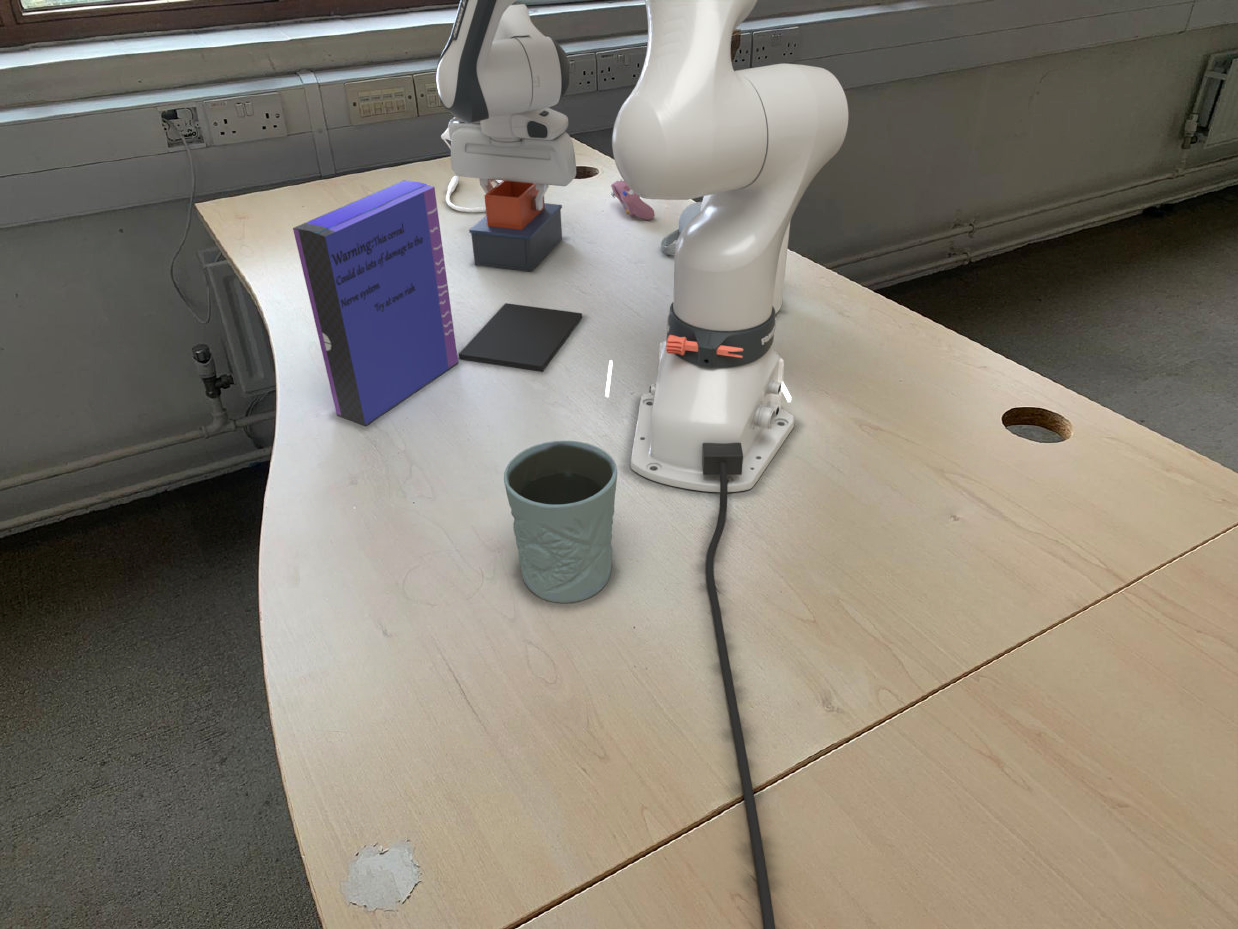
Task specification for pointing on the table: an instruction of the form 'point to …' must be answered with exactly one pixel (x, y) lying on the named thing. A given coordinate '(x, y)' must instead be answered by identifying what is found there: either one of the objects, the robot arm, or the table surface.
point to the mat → (521, 337)
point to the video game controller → (631, 201)
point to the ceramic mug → (680, 227)
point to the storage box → (517, 241)
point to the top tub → (511, 205)
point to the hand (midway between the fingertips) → (516, 207)
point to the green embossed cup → (563, 518)
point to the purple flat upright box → (379, 298)
